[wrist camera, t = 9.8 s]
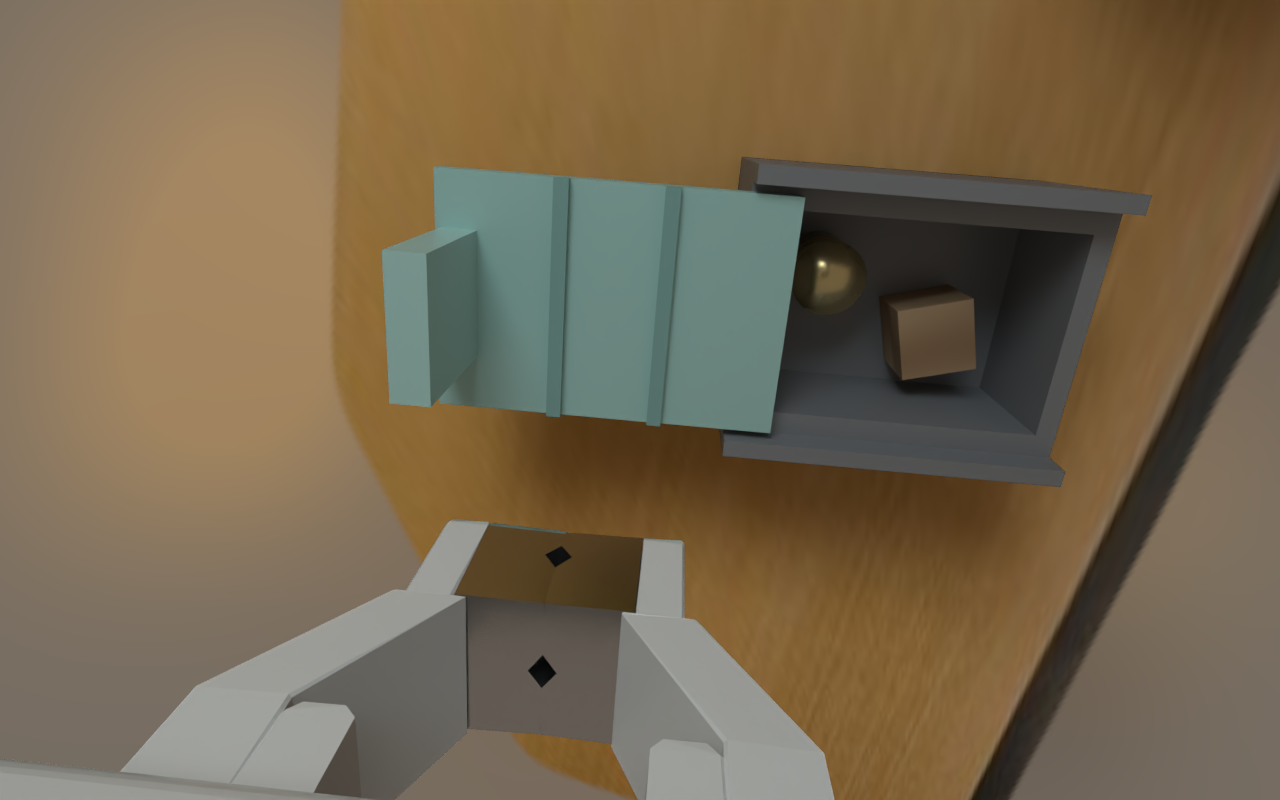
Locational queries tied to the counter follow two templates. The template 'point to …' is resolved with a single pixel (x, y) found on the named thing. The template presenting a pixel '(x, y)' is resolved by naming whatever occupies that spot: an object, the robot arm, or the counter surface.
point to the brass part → (827, 274)
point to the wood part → (928, 331)
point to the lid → (594, 299)
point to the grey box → (927, 257)
